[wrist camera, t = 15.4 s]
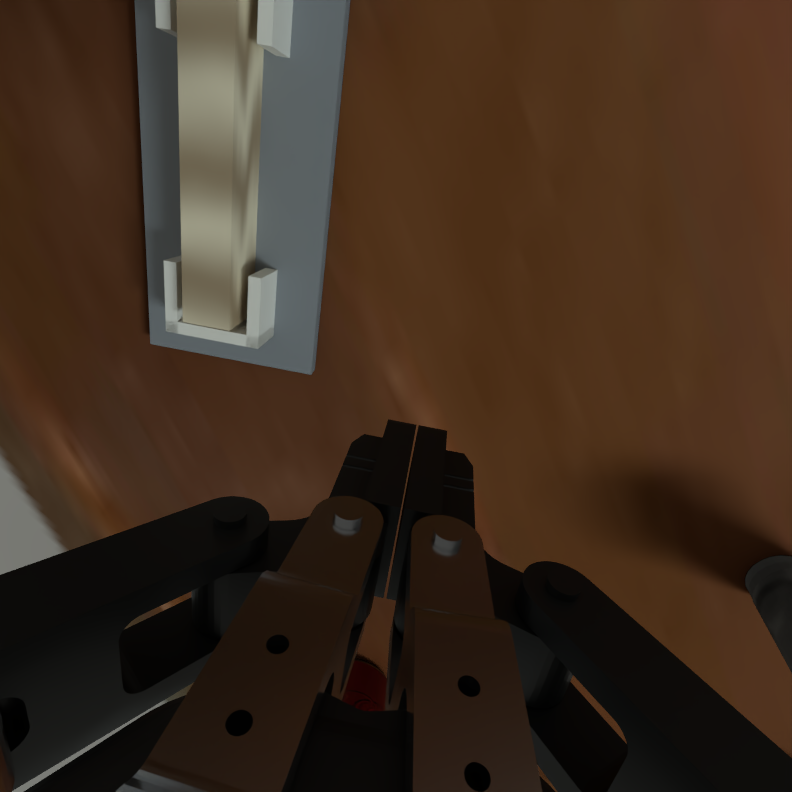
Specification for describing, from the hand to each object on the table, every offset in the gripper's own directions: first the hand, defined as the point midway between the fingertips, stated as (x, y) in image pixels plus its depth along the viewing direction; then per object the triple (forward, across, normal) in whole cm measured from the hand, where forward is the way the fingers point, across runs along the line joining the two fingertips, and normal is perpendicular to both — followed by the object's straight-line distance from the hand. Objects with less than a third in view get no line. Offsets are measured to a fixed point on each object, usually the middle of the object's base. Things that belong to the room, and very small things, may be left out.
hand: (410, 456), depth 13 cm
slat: (+22, +14, -5) cm, 26 cm away
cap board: (+23, +14, -5) cm, 27 cm away
